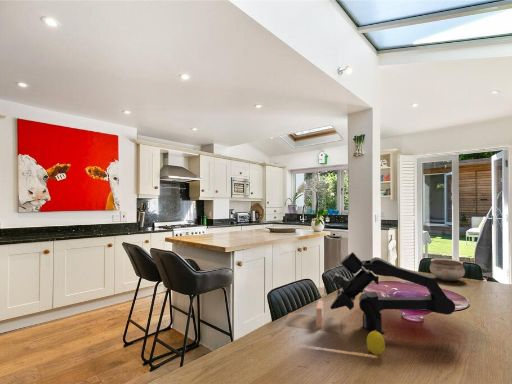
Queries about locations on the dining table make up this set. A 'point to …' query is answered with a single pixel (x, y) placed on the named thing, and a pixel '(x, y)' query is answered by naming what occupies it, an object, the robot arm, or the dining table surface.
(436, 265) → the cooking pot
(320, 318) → the tile
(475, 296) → the dining table surface
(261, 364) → the dining table surface
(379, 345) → the lemon
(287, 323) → the board
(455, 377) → the dining table surface
